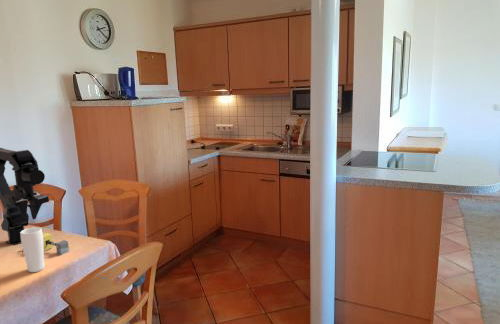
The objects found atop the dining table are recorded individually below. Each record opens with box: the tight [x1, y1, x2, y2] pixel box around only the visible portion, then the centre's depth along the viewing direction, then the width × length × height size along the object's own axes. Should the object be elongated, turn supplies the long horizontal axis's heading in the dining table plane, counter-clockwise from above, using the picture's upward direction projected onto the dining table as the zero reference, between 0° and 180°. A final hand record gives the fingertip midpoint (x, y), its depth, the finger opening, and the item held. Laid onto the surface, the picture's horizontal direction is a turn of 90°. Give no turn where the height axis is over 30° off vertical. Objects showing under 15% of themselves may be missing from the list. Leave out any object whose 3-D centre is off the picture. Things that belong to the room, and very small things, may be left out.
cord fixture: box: [45, 239, 70, 256], centre depth 148 cm, size 18×6×4 cm, turn 68°
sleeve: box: [42, 232, 54, 252], centre depth 149 cm, size 4×4×6 cm
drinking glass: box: [20, 226, 45, 273], centre depth 131 cm, size 7×7×15 cm
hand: (29, 218), depth 150 cm, fingers open, 5 cm apart
